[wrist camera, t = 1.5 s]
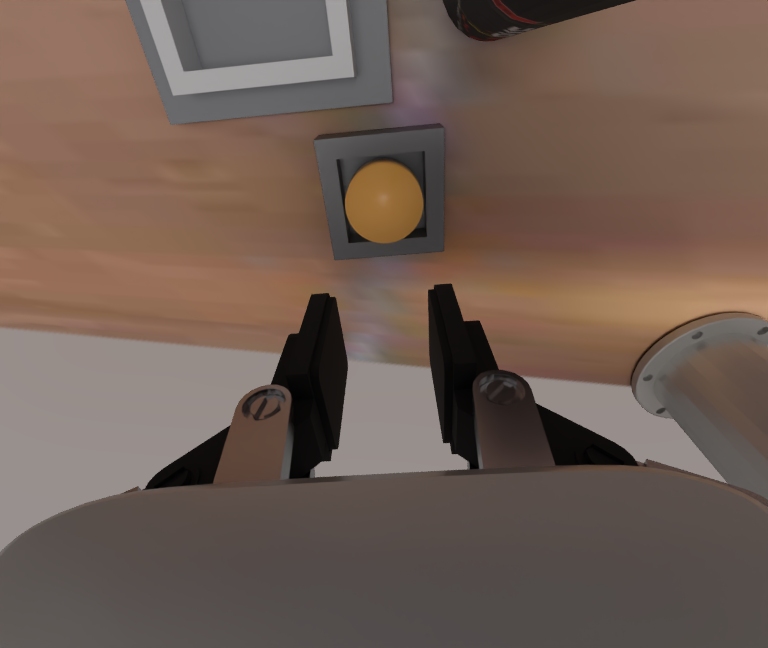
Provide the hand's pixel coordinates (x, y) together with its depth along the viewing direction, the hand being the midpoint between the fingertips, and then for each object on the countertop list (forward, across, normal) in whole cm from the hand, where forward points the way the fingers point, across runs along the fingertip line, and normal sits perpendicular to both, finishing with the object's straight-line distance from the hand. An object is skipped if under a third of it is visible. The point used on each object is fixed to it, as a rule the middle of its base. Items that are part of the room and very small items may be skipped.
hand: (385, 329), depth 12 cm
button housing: (+17, 0, 0) cm, 17 cm away
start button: (+16, 0, 0) cm, 16 cm away
